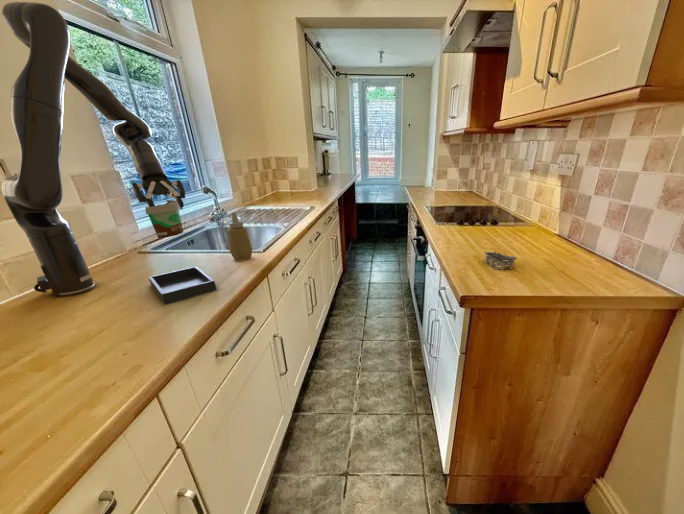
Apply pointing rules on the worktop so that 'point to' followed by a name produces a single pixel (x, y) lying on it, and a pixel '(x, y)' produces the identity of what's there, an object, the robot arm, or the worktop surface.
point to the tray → (182, 284)
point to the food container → (165, 219)
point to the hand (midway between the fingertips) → (168, 208)
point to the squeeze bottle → (239, 240)
